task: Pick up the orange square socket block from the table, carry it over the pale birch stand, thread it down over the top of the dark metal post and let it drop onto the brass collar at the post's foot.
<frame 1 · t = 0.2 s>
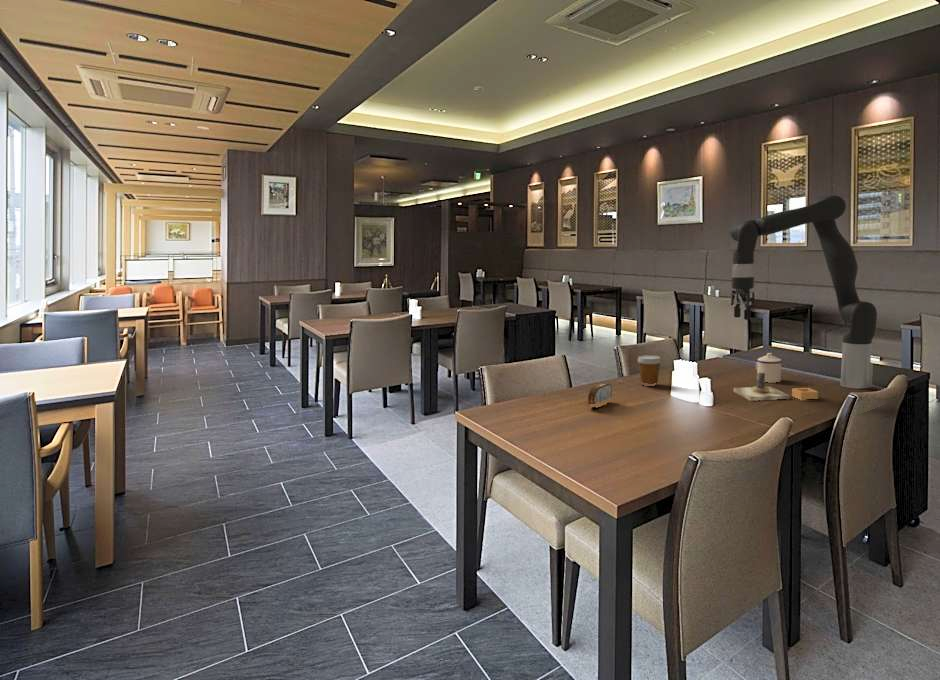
hand: (742, 318, 215), 29 cm above the table, tool pointing down, fingers open, 8 cm apart
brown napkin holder: (600, 406, 207), on the table
orange square socket block: (804, 398, 206), on the table
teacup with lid: (766, 380, 235), on the table
disposable coffee cup: (649, 385, 236), on the table
post stand: (760, 395, 212), on the table
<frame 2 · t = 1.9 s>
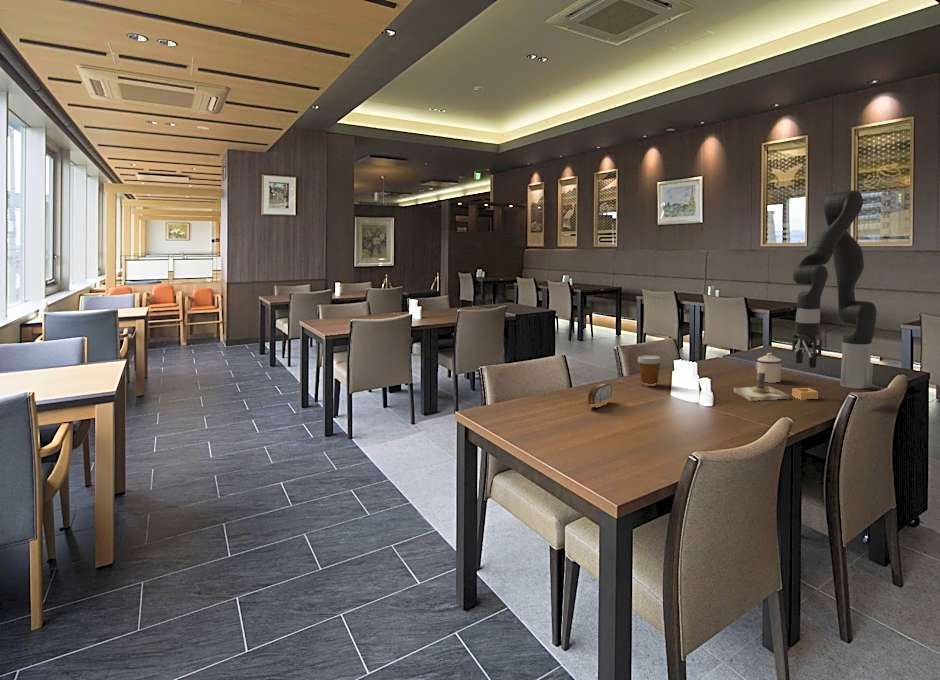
hand: (805, 365, 204), 12 cm above the table, tool pointing down, fingers open, 8 cm apart
nothing on the table moved.
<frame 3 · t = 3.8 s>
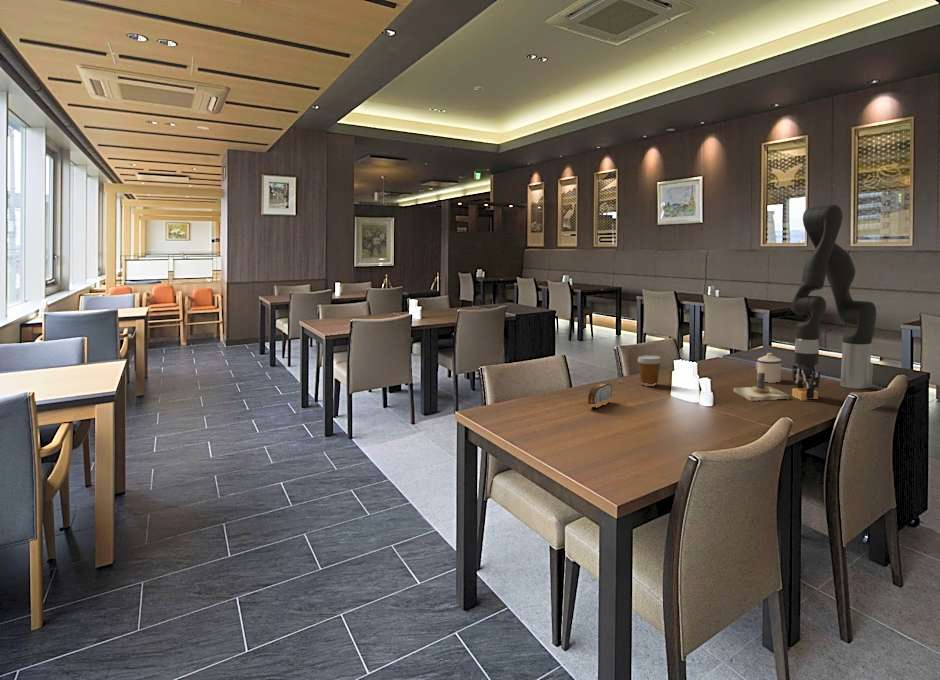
hand: (804, 395, 205), 1 cm above the table, tool pointing down, fingers closed on orange square socket block, 6 cm apart
orange square socket block: (804, 398, 206), on the table, touching gripper
everything else where it was.
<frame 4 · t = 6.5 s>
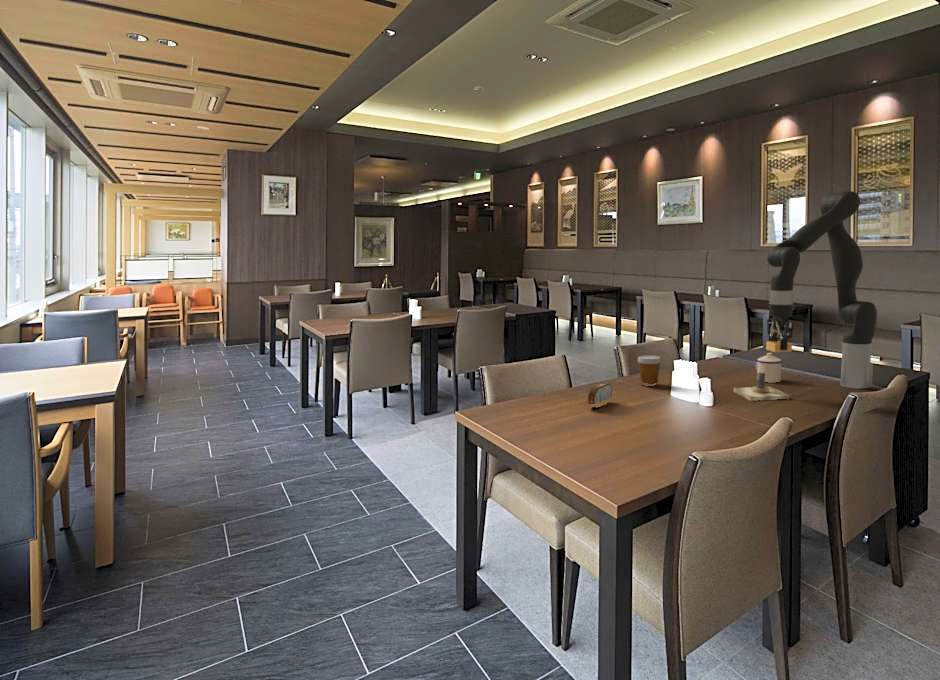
hand: (778, 348, 206), 18 cm above the table, tool pointing down, fingers closed on orange square socket block, 6 cm apart
orange square socket block: (778, 350, 206), point 17 cm above the table, touching gripper
everything else where it was.
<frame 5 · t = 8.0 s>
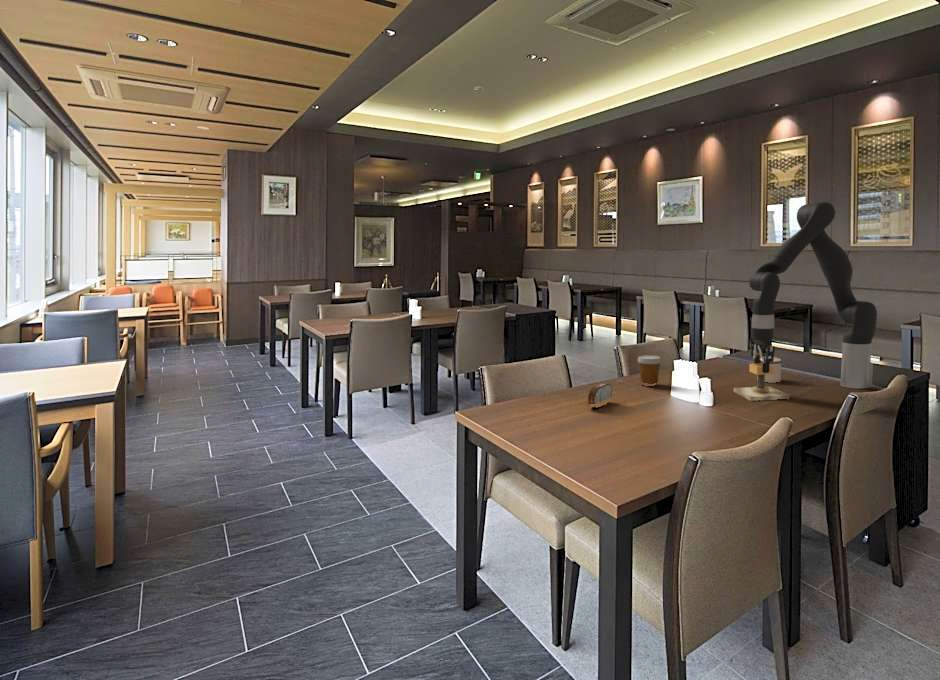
hand: (761, 370, 210), 9 cm above the table, tool pointing down, fingers closed on orange square socket block, 6 cm apart
orange square socket block: (761, 372, 211), point 9 cm above the table, touching gripper
everything else where it was.
when the fingers open (6 cm above the table, at t = 9.3 s): orange square socket block drops 2 cm, resting on post stand.
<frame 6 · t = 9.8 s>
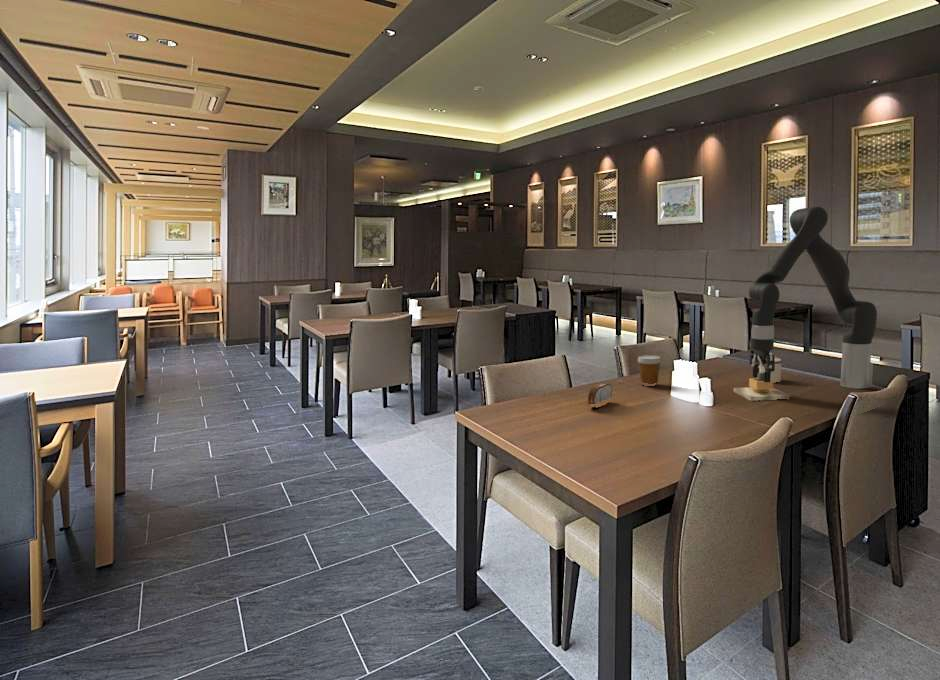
hand: (761, 379, 211), 6 cm above the table, tool pointing down, fingers open, 8 cm apart
orange square socket block: (760, 387, 211), point 3 cm above the table, touching post stand
everything else where it was.
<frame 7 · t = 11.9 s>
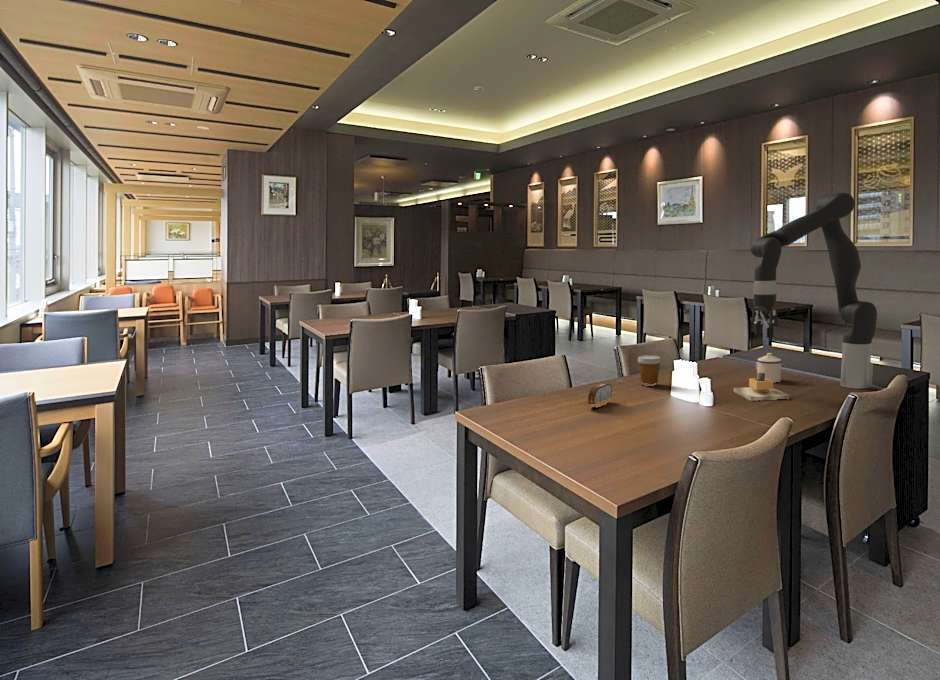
hand: (763, 336, 210), 22 cm above the table, tool pointing down, fingers open, 8 cm apart
nothing on the table moved.
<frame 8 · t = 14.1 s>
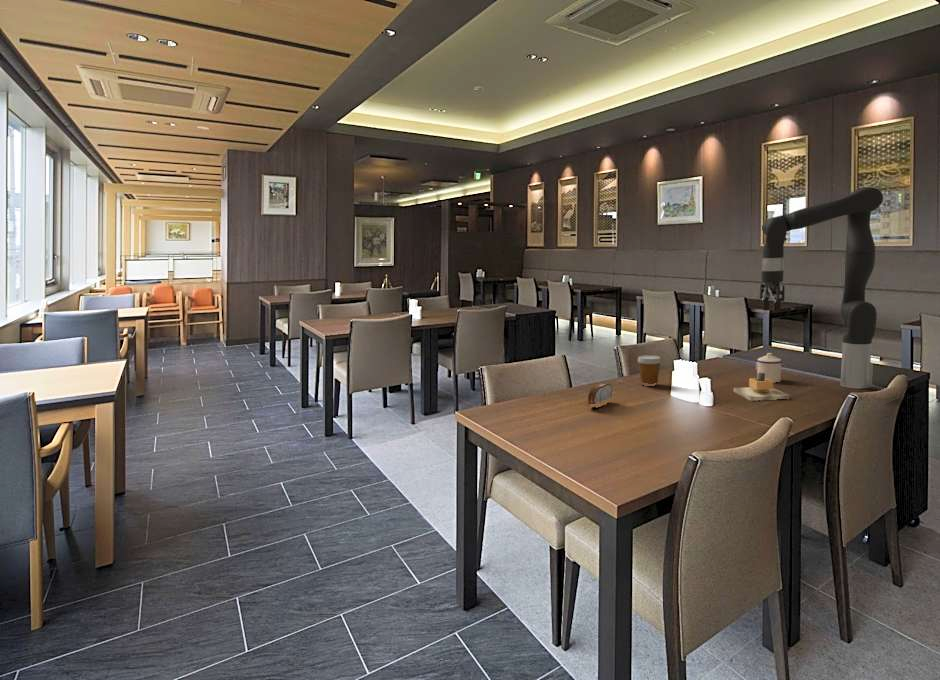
hand: (771, 311, 221), 30 cm above the table, tool pointing down, fingers open, 8 cm apart
nothing on the table moved.
at the end: orange square socket block 0.1 cm off-centre on the post stand, point 3.0 cm above the post stand's base; the gripper is holding nothing; orange square socket block tilted 0° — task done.
